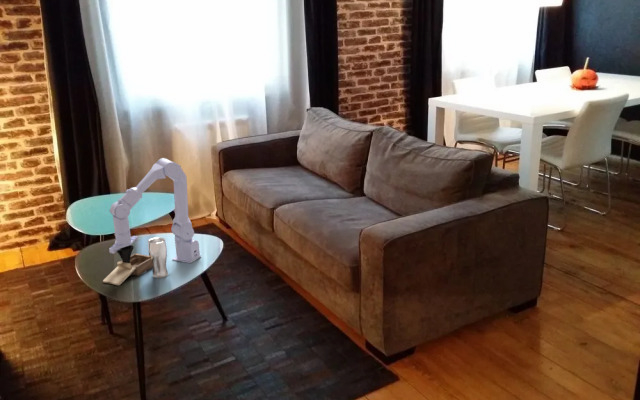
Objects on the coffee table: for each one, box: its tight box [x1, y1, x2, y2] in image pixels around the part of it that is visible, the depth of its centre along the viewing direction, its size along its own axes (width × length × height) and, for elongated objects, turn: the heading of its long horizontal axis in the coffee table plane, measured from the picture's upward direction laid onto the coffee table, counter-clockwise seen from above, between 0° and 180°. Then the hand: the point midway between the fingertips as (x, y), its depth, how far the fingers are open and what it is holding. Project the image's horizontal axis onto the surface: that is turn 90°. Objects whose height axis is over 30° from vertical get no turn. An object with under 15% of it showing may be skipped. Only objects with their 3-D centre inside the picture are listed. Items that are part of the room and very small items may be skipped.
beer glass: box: [147, 236, 169, 279], centre depth 241 cm, size 7×7×15 cm
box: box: [120, 253, 153, 277], centre depth 249 cm, size 10×11×4 cm
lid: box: [102, 260, 135, 286], centre depth 240 cm, size 8×10×3 cm
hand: (126, 263), depth 244 cm, fingers closed
